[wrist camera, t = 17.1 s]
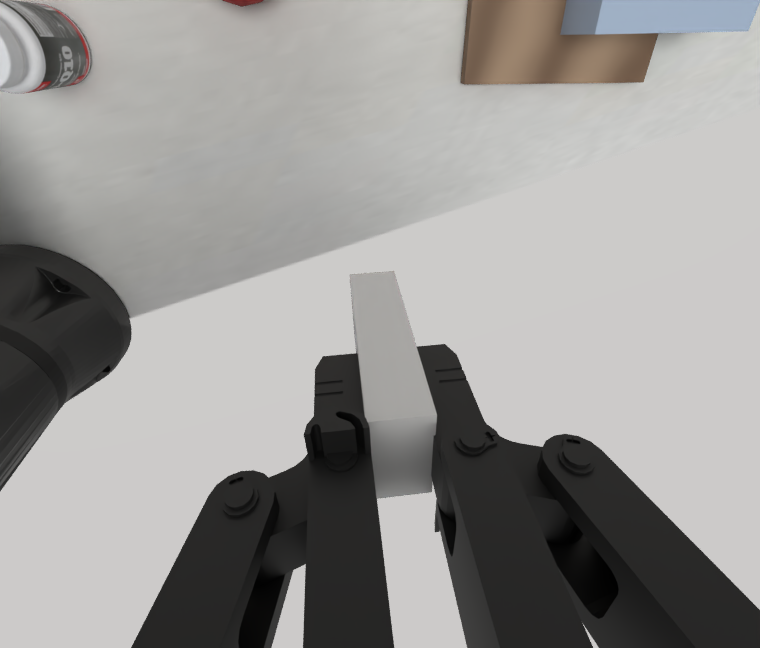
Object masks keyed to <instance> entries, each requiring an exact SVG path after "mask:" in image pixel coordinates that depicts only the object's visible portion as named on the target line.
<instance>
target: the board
mask: <svg viewBox="0 0 760 648" xmlns="http://www.w3.org/2000/svg"><path fill="white" fill-rule="evenodd" d="M566 1H567V0H468V8H467V19H466V30H465V41H464V52H463V63H462V73H461V83H462V84H538V83H626V82H644V79H645V75H646V72H647V69H648V66H649V62H650V59H651V56H652V53H653V49H654V46H655V43H656V40H657V36H658V33H639V34H586V35H560V33H561V28H562V23H563V17H564V12H565V7H566Z"/></svg>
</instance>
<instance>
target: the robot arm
mask: <svg viewBox="0 0 760 648" xmlns="http://www.w3.org/2000/svg"><path fill="white" fill-rule="evenodd" d="M350 283H351V294H352V295H351V296H352V309H353V321H354V334H355V344H356V354H346V355H336V356H323V357H322V359H321V360H320V362H319V364H318V365H317V367H316V369H315V398H314V417H313V418H312V419H311V421H310V422H309V423H308V424H307V426H306V430H305V433H304V437H305V443H306V448H307V452H308V454H307V455H306V457H305V458H304V459H303V460H302V461H301V462H300V463H298V464H297V465H296V466H294V467H292V468H290V469H288V470H286V471H284V472H281V473H279V474H277V475H274V476H272V477H270V478H268V477H267V476H266V475H265V474H263V473H260V472H257V471H240V472H238V473H236V474H233V475H230V476H228V477H227V478H226V479H224V480H223V481H221V482H220V483H219V484H217V485H216V487H215V488H214V489H213V491H212V492H211V494H210V495H209V496H208V498H207V500H206V502H205V504H204V506H203V508H202V510H201V512H200V514H199V516H198V518H197V520H196V522H195V524H194V526H193V528H192V530H191V532H190V534H189V535H188V537H187V539H186V541H185V543H184V545H183V547H182V549H181V551H180V553H179V555H178V557H177V559H176V561H175V563H174V565H173V567H172V569H171V571H170V573H169V575H168V577H167V579H166V581H165V582H164V584H163V586H162V589H161V591H160V592H159V594H158V596H157V598H156V600H155V602H154V604H153V606H152V608H151V610H150V612H149V614H148V616H147V618H146V620H145V622H144V624H143V626H142V628H141V630H140V632H139V633H138V635H137V637H136V640H135V641H134V643H133V645H132V647H131V648H271V646H272V643H273V640H274V636H275V633H276V628H277V625H278V622H279V618H280V615H281V611H282V608H283V604H284V601H285V597H286V594H287V590H288V586H289V583H290V579H291V576H292V572H293V570H294V569H296V568H298V567H300V566H302V565H304V564H306V576H305V607H304V609H305V610H304V638H303V640H304V641H303V648H394V644H393V634H392V625H391V617H390V608H389V600H388V591H387V583H386V575H385V566H384V558H383V550H382V541H381V532H380V524H379V515H378V507H377V498H386V497H394V496H403V495H411V494H419V493H428V492H432V481H433V485H434V489H435V493H436V497H437V501H436V513H435V532H439V531H440V532H441V536H442V541H443V545H444V549H445V554H446V558H447V562H448V567H449V571H450V575H451V579H452V583H453V588H454V592H455V597H456V601H457V605H458V609H459V614H460V618H461V622H462V627H463V631H464V635H465V639H466V644H467V648H593V646H592V644H591V642H590V640H589V637H588V635H587V633H586V631H585V628H584V626H585V627H586V629H587V630H588V632H589V633H590V635H591V636H592V638H593V639H594V640H595V642H596V643H597V645H598V647H599V648H760V610H759V609H758V608H757V607H756V606H755V605H754V604H753V603H752V602H751V601H750V600H749V599H748V598H747V597H746V596H745V595H744V594H743V593H742V592H741V591H740V590H739V589H738V588H737V587H736V586H735V585H734V584H733V583H732V582H731V580H730V579H729V578H727V577H726V575H725V574H724V573H723V572H722V571H720V569H719V568H718V567H717V566H716V565H715V564H714V563H713V562H712V561H711V560H710V559H709V558H708V557H707V556H706V555H705V554H704V553H703V552H702V551H701V550H700V549H699V548H698V547H697V546H696V545H695V544H694V543H693V542H692V541H691V540H690V539H689V538H688V537H687V536H686V535H685V534H684V533H683V532H682V531H681V530H680V529H679V528H678V527H677V526H676V525H675V524H674V523H673V522H672V521H671V520H670V519H669V518H668V517H667V516H666V515H665V514H664V513H663V512H662V511H661V510H660V509H659V508H658V507H657V506H656V505H655V504H654V503H653V502H652V501H651V500H650V499H649V498H648V497H647V496H646V495H645V494H644V493H643V492H642V491H641V490H640V489H639V488H638V487H637V486H636V485H635V483H634V482H633V481H631V479H630V478H629V477H628V476H627V475H626V474H625V473H624V472H623V471H622V470H621V469H620V468H619V467H618V466H617V465H616V464H615V463H614V462H613V461H612V460H610V458H609V457H608V456H607V455H606V454H605V453H604V452H603V451H602V450H601V449H599V448H598V447H597V446H596V445H594V444H593V443H592V442H590V441H588V440H586V439H583V438H581V437H579V436H574V435H568V434H563V435H556V436H553V437H551V438H550V439H548V440H547V441H546V442H545V444H544V446H543V447H539V446H533V445H527V444H520V443H516V442H512V441H509V440H507V439H504V438H502V437H500V436H499V435H498V434H497V432H496V431H495V430H494V429H492V428H491V427H490V426H488V425H487V424H486V423H485V421H484V419H483V417H482V415H481V412H480V410H479V407H478V405H477V403H476V400H475V398H474V396H473V393H472V391H471V388H470V386H469V384H468V381H467V380H466V376H465V374H464V371H463V370H462V367H461V364H460V362H459V359H458V357H457V355H456V354H455V353H454V352H453V351H452V350H451V349H450V348H448V347H447V346H446V345H445V344H441V345H431V346H419V347H417V346H416V343H415V340H414V336H413V333H412V330H411V326H410V323H409V320H408V317H407V313H406V310H405V307H404V303H403V300H402V297H401V294H400V290H399V286H398V283H397V280H396V276H395V273H394V271H390V272H377V273H364V274H352V275H350ZM130 340H131V324H130V320H129V317H128V314H127V312H126V310H125V308H124V306H123V304H122V302H121V301H120V299H119V298H118V297H117V295H116V294H115V293H114V292H113V290H112V289H111V288H110V287H109V286H108V285H107V284H106V283H105V282H104V281H103V280H102V279H100V278H99V277H98V276H97V275H95V274H94V273H93V272H91V271H90V270H88V269H87V268H85V267H84V266H82V265H80V264H79V263H77V262H75V261H73V260H71V259H69V258H67V257H65V256H62V255H60V254H57V253H54V252H52V251H48V250H45V249H41V248H37V247H31V246H24V245H0V491H1V490H2V488H3V487H4V485H5V484H6V482H7V481H8V480H9V479H10V477H11V476H12V474H13V473H14V472H15V470H16V469H17V467H18V466H19V465H20V463H21V462H22V461H23V459H24V458H25V456H26V455H27V454H28V452H29V451H30V450H31V448H32V447H33V445H34V444H35V443H36V441H37V440H38V438H39V437H40V436H41V434H42V433H43V432H44V430H45V429H46V427H47V426H48V425H49V423H50V422H51V421H52V419H53V418H54V416H55V415H56V414H57V412H58V411H59V410H60V408H61V407H62V406H63V405H64V403H66V402H67V401H69V400H70V399H72V398H73V397H75V396H77V395H78V394H79V393H81V392H83V391H84V390H86V389H87V388H89V387H90V386H92V385H93V384H95V383H96V382H98V381H100V380H101V379H102V378H104V377H106V376H107V375H108V374H109V373H110V372H112V370H114V368H115V367H116V366H117V365H118V363H119V362H120V360H121V359H122V357H123V356H124V355H125V353H126V351H127V349H128V347H129V345H130ZM582 623H583V624H584V626H583V624H582Z"/></svg>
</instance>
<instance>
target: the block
mask: <svg viewBox="0 0 760 648" xmlns="http://www.w3.org/2000/svg"><path fill="white" fill-rule="evenodd" d="M759 3H760V0H567V1H566V7H565V12H564V17H563V23H562V28H561V33H560V35H586V34H639V33H686V32H733V31H748V30H749V28H750V25H751V23H752V20H753V18H754V15H755V13H756V10H757V8H758V5H759Z"/></svg>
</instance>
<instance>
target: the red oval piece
mask: <svg viewBox="0 0 760 648" xmlns="http://www.w3.org/2000/svg"><path fill="white" fill-rule="evenodd" d="M223 1H226V2H229V3H232V4H235V5H238V6H247V5H251V4H255V3H259V2H262V1H263V0H223Z"/></svg>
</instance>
